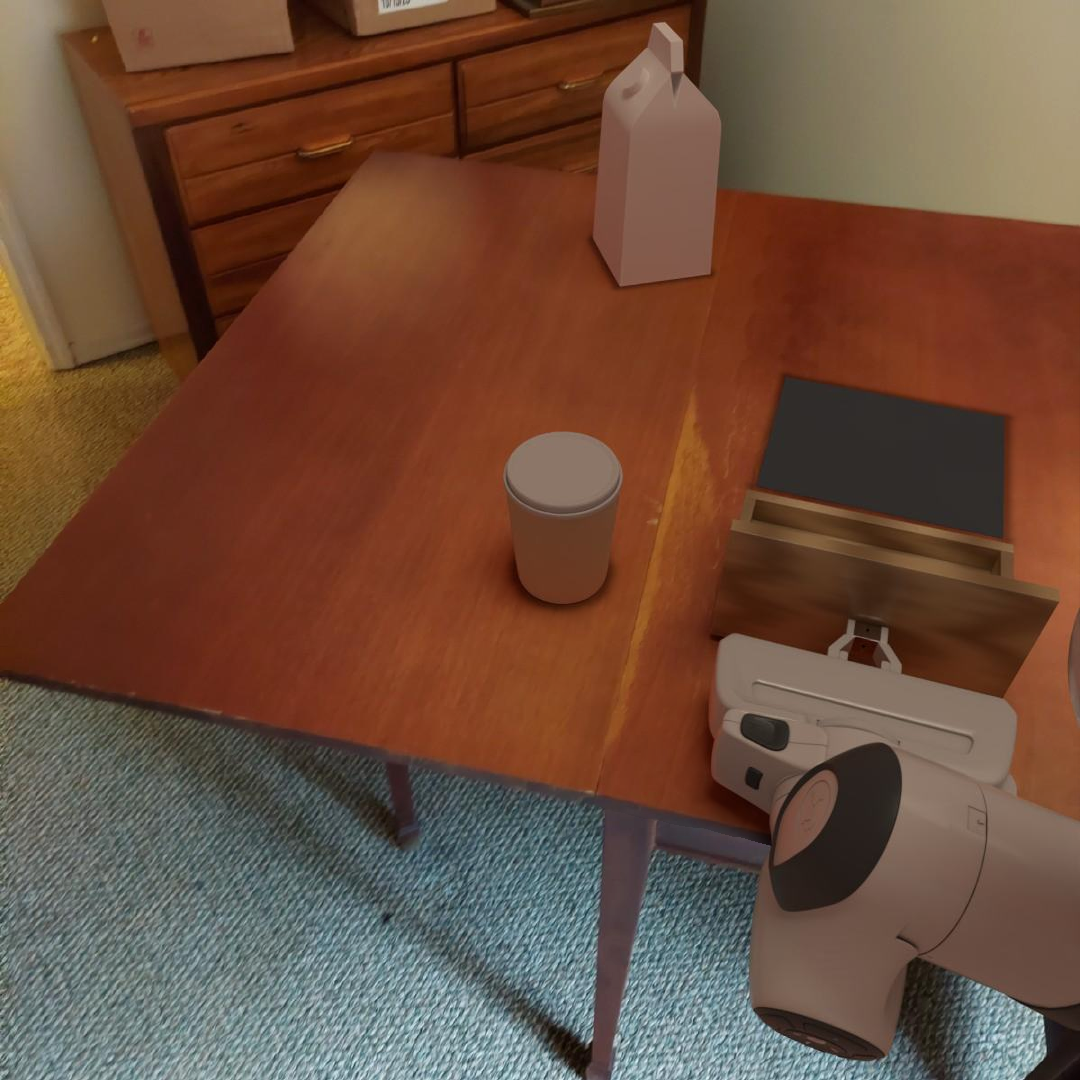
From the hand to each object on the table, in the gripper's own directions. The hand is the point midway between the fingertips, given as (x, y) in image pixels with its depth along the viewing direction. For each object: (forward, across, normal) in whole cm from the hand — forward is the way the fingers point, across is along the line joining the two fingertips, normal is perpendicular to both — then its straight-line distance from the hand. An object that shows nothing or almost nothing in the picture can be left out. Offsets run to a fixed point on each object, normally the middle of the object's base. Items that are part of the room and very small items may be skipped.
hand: (865, 628), depth 71 cm
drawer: (+7, 0, +6) cm, 9 cm away
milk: (+58, +30, +6) cm, 65 cm away
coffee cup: (+4, +25, +6) cm, 26 cm away
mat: (+28, -1, +6) cm, 29 cm away
